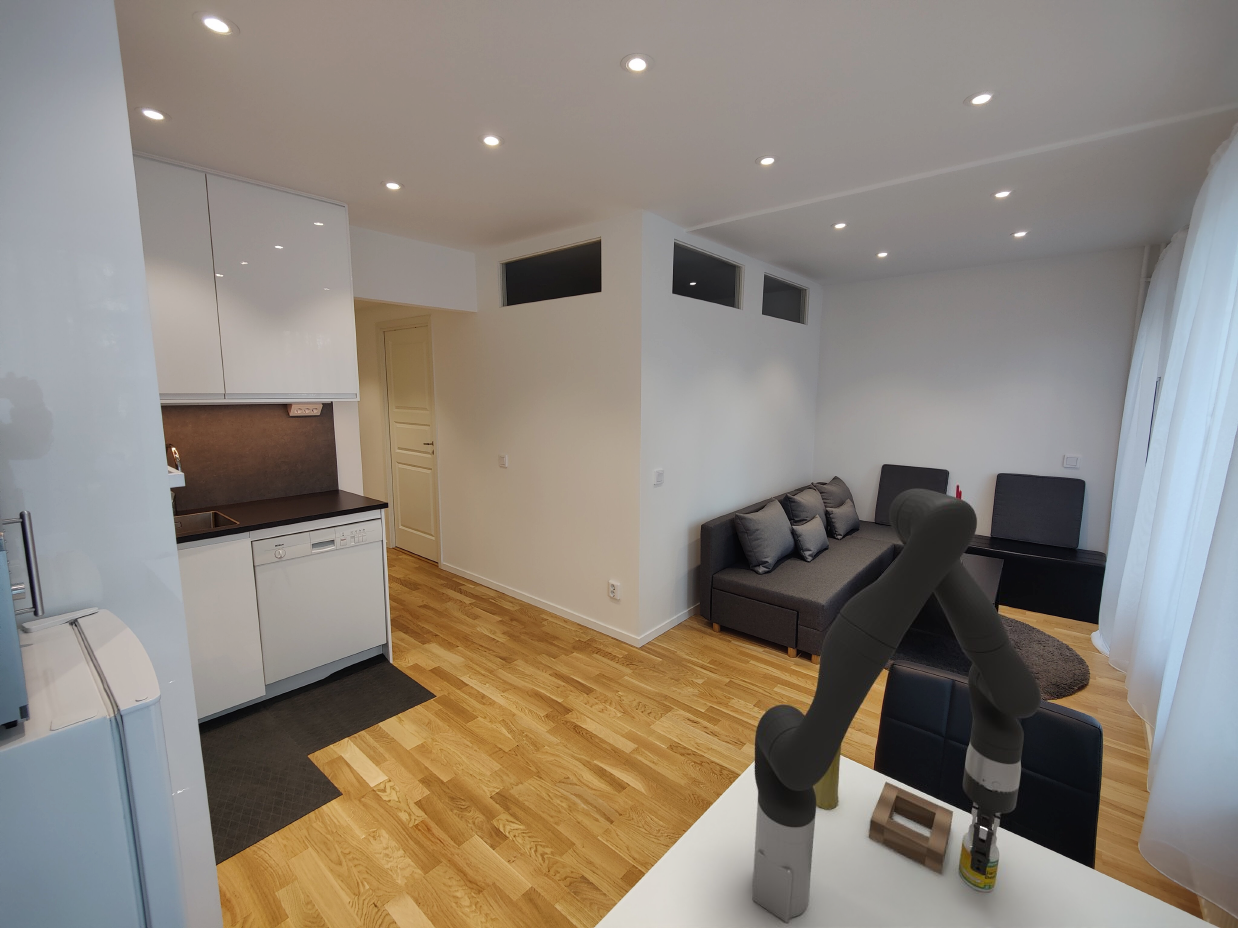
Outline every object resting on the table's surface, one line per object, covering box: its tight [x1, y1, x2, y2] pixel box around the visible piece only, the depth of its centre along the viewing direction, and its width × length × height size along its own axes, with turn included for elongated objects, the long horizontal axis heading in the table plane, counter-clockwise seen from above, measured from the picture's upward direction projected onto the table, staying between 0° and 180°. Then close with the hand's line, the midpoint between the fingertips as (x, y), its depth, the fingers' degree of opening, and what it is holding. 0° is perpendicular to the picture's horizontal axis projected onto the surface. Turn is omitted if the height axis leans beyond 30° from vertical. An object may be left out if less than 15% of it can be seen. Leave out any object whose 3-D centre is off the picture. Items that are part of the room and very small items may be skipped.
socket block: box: [868, 781, 954, 875], centre depth 102 cm, size 12×12×4 cm
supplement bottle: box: [958, 823, 1000, 893], centre depth 93 cm, size 5×5×10 cm
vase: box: [813, 742, 843, 810], centre depth 110 cm, size 6×6×14 cm
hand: (980, 853), depth 93 cm, fingers open, 8 cm apart
